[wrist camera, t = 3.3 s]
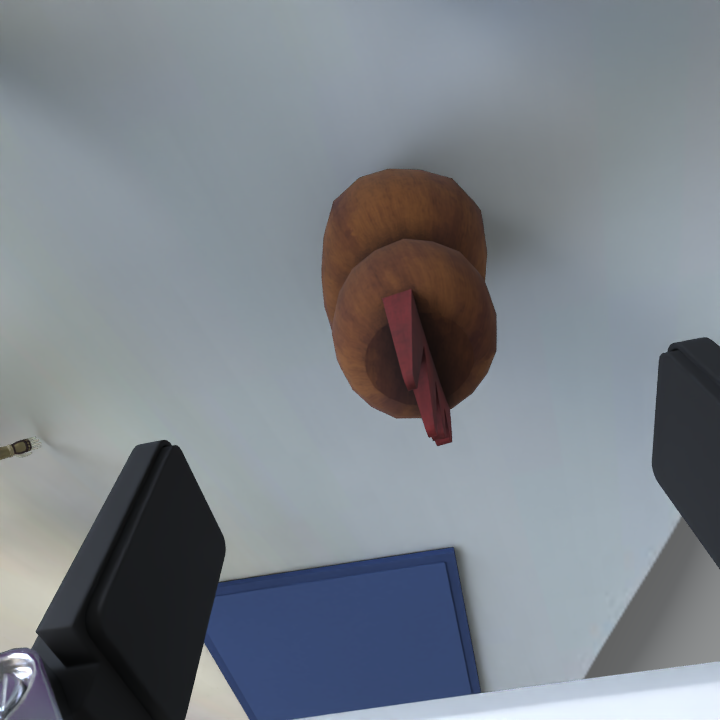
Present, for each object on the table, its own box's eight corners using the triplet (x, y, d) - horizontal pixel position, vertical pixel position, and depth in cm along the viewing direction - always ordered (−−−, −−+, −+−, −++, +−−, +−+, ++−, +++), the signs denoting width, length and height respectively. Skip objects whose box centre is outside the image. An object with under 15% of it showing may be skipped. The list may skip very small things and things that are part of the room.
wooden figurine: (327, 148, 22) (281, 295, 9) (470, 153, 22) (633, 304, 9) (327, 303, 25) (294, 575, 12) (451, 306, 25) (550, 579, 12)
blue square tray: (453, 546, 33) (454, 553, 33) (483, 705, 42) (484, 712, 42) (176, 588, 35) (174, 595, 35) (260, 731, 44) (259, 738, 43)
